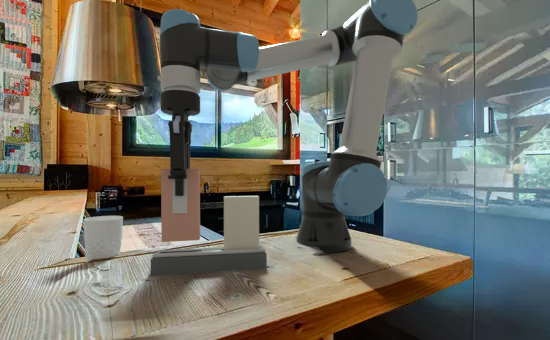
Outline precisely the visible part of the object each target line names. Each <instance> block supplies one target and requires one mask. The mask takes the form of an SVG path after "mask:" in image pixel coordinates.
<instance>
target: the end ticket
mask: <svg viewBox="0 0 550 340" xmlns="http://www.w3.org/2000/svg"><path fill="white" fill-rule="evenodd" d="M160 171H161V172H160V174H161V175H160V178H161V180H160V182H161V183H160V185H161V187H160V189H161V191H160V192H161V197H160V198H161V201H160V203H161V206H160V207H161V211H160V213H161V215H160V216H161V217H160V218H161V219H160V220H161V221H160V222H161V243H166V242H167V243H169V242H188V241H189V242H190V241H191V242H192V241H200V239H201V180H200V179H201V177H200V176H201V169H200V168H190V169H186V174H187V177H186V179H188V213H173V204H172V179H168V175H171V174H170V171H171V169H170V168H161V170H160Z"/></svg>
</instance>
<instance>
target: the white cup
mask: <svg viewBox="0 0 550 340" xmlns="http://www.w3.org/2000/svg"><path fill="white" fill-rule="evenodd" d="M123 221H124V216H122V215H101V216H92V217H86V218H83V234H84V235H83V237H84V251H85V259H86V260H85V262H86V264H87V263H89V262H90V261H92V260H98V259H99V260H101V259H109V258H112V257H116V256H119V255H120V254H121V249H122V238H123V223H124V222H123Z"/></svg>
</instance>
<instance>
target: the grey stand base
mask: <svg viewBox="0 0 550 340" xmlns="http://www.w3.org/2000/svg"><path fill="white" fill-rule="evenodd" d="M267 254H268V253H267V252H266V248H264V246H263V245H259V249H240V250H224V246H223V247H222V246H221V247H220V246H219V247H202V248H201V247H200V248H199V247H198V248H183V249H182V248H179V249H158V250H157V251H156V252H155V253H152V257H151V258H150V276H151V277H152V276H168V275H169V276H170V275H189V274H205V273H221V272H235V271H252V270H267V268H268V264H267V263H268V261H267V260H268V258H267V256H268V255H267Z"/></svg>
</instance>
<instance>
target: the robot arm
mask: <svg viewBox="0 0 550 340" xmlns="http://www.w3.org/2000/svg"><path fill="white" fill-rule="evenodd" d="M418 17H419V15H418V9H417V6H416V4H415V2H414V0H368V1H367V2H366V3H365V4H363V5H362V6H361V7H360V8H359V9H358V10H357V11H356V12H354V14H352V15H351V17H349V19H348V20H346V21H344V22H343V23H342V24H341V25H339V26H337V27H335V28H331V29H326V30H325V31H324V32H323V33H322V35H317V36H313V37H307V38H301V39H297V40H293V41H292V40H291V41H287V42H283V43H282V42H281V43H277V44H273V45H267V46H262V47H261V46H260V44H259V43H260V42H259V40H258V38H257V36H255V35H254V34H249V33H244V32H242V31H231V30H223V29H215V28H208V27H205V26H201V24H200V19H199V17H198V16H197V15H196V14H194V12H188V10H187V9H186V10H185V9H179V8H173V9H169V10H167V11H164V13H163V14H162V15H161V19H160V33H159V49H160V50H159V51H160V52H159V55H160V58H159V59H160V60H159V61H160V74H161V75H157V77H156V78H157V81H159V82H160V90H161V91H162V92H161V93H160V111H161V113H162V114H166V115H168V116H171V120H169V121H168V123H167V125H168V131H169V158H170V159H169V161H170V163H169V164H170V168H169V169H171V171H170V174H171V175H168V179H172V204H173V213H188V179H186V177H187V174H186V169H191V144H192V132H193V125H192V123H191V121H189V117H190V116H197V115H199V114H200V113H201V96H200V95H199V94H200V93H201V68H206V80H207V82H208V84H209V86H211V88H212V89H213V90H216V91H219V92H226V91H228V90H230V89H231V88H233V87H234V86H236V85H240V84H243V83H249V82H251V81H256V80H260V79H265V78H270V77H273V76H274V77H275V76H278V75H282V74H283V75H284V74H288V73H292V72H295V71H297V72H298V71H301V70H305V69H309V68H313V67H317V66H322V65H326V66H328V67H334V66H338V65H343V64H344V65H345V64H349V63H353V62H355V64H354V67H353V75H352V79H351V85H350V90H349V95H348V101H347V106H346V111H345V115H344V121H343V126H342V132H341V137H340V142H339V146H338V148H337V149H336V150H334V151H333V152H332V153H331V154H330V158H329V159H330V160H322V161H321V160H320V161H313V162H309V163H307V164H305V165H304V166H303V168H302V175H301V183H302V184H301V190H302V191H301V197H302V199H301V201H302V202H301V203H302V204H301V205H302V218H301V222H300V225H299V228H298V232H297V235H296V237H295V238H296V239H295V240H296V243H298V244H300V245H303V246H306V247H313V248H317V249H319V250H320V251H322V252H323V253H328V254H329V253H341V252H346V251H349V250H351V249H352V237H351V234H350V231H349V229H348V225H347V222H346V217H345V216H350V217H355V216H356V217H365V216H368V215H371V214H372V213H374V212H375V211H377V210H378V209H379V208H380V207H381V206H382V205H383V203H384V202H385V199H386V196H387V193H388V180H387V178H385V173H384V172H383V170H382V169H381V165H382V160H381V159H380V158H379V156H378V155H377V149H378V144H379V138H380V134H381V128H382V123H383V116H384V111H385V105H386V99H387V95H388V89H389V83H390V77H391V73H392V67H393V61H394V60H395V59H396V58H398V57H399V56H400V55H401V53H402V49H403V44H404V38H405V36H406V35H408V34H409V33H411V32H412V30H413V29H414V28H415V27H416V26H417V23H418Z"/></svg>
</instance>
